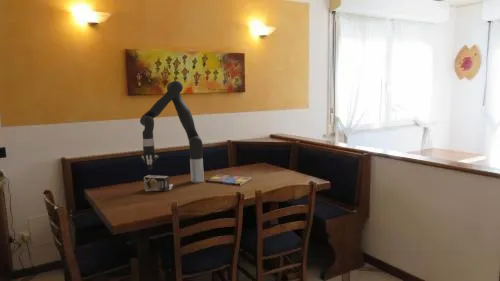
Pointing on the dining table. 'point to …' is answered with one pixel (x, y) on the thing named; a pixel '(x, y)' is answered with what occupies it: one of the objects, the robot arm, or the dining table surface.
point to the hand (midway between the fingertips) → (150, 169)
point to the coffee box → (156, 183)
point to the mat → (168, 189)
